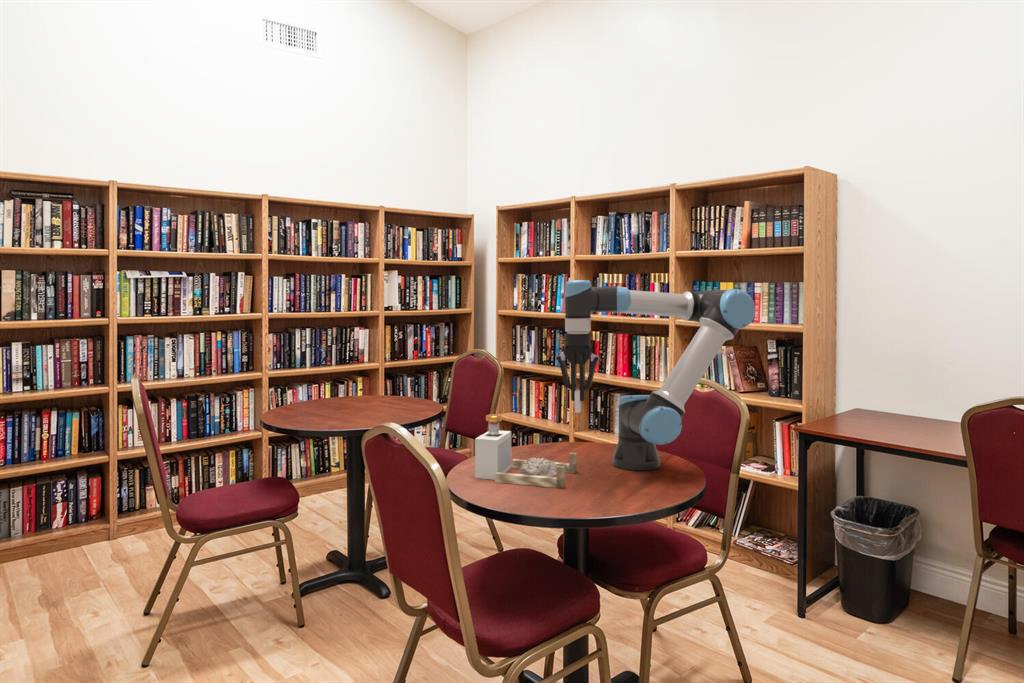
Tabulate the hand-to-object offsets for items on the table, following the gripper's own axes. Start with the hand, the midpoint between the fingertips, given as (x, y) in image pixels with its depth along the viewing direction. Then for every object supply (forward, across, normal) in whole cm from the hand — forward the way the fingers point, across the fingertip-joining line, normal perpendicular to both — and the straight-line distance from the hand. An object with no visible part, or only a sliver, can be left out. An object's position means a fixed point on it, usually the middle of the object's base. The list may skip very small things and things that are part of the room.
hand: (578, 411), depth 196 cm
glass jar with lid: (+11, +26, 0) cm, 29 cm away
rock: (+21, +12, +1) cm, 24 cm away
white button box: (+20, +27, 0) cm, 33 cm away
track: (+20, +13, 0) cm, 24 cm away
